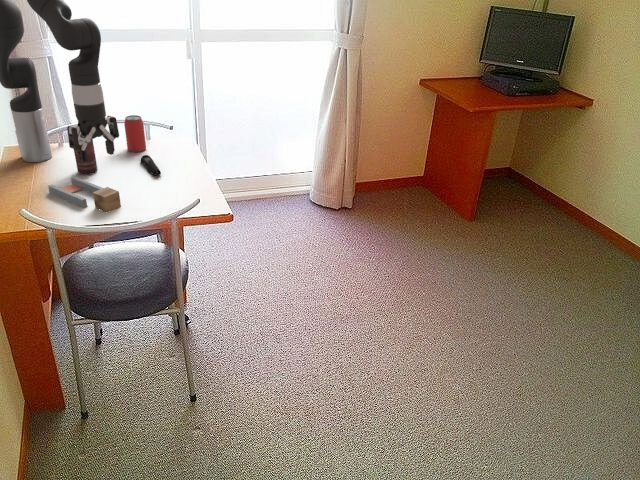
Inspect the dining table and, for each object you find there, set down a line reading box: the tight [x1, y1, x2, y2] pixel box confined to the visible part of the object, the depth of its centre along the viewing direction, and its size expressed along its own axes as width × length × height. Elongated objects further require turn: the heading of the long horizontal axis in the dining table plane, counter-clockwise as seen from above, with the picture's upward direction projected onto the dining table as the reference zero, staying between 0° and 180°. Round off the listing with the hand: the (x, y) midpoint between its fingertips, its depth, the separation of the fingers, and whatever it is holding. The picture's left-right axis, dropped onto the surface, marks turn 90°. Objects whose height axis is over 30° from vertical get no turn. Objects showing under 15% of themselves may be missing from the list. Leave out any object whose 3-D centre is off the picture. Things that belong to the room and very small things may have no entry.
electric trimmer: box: [140, 154, 162, 176], centre depth 184 cm, size 4×16×3 cm, turn 31°
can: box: [73, 131, 98, 176], centre depth 176 cm, size 6×6×14 cm
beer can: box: [123, 114, 147, 153], centre depth 196 cm, size 7×7×12 cm
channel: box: [47, 176, 104, 209], centre depth 163 cm, size 16×9×2 cm, turn 58°
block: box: [92, 186, 122, 213], centre depth 157 cm, size 5×5×5 cm
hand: (97, 157), depth 151 cm, fingers open, 8 cm apart
